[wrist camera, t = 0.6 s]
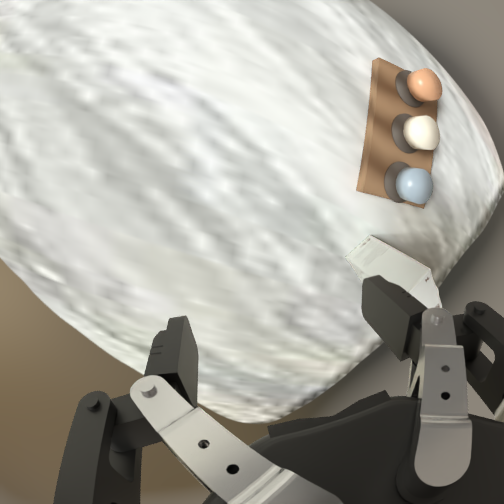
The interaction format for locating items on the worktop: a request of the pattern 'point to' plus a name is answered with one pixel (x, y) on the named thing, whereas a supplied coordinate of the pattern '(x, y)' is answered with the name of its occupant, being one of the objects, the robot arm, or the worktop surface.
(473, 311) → the robot arm
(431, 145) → the button cream
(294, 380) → the worktop surface
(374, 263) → the skincare box
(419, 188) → the button slate
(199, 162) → the worktop surface
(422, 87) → the button terracotta
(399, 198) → the board
